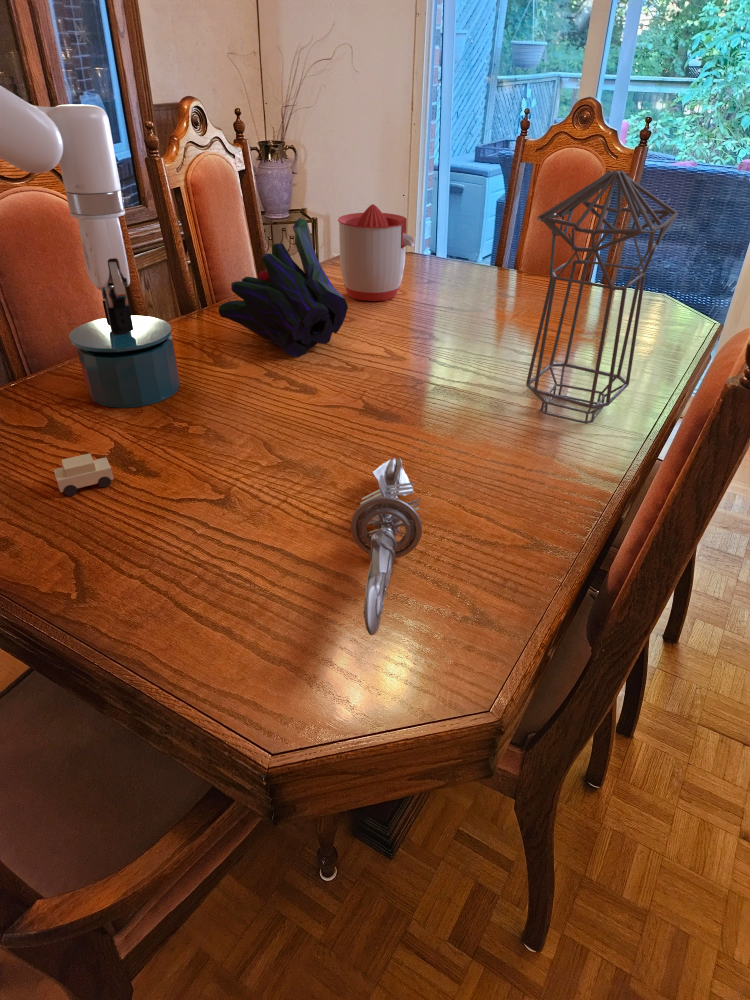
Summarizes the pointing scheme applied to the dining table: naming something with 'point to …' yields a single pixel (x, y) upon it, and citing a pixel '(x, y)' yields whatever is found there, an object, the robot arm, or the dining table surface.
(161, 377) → the pot
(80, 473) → the toy car
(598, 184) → the geometric lantern
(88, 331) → the pot lid
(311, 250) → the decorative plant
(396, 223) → the citrus juicer
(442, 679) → the dining table surface
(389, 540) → the spaceship
